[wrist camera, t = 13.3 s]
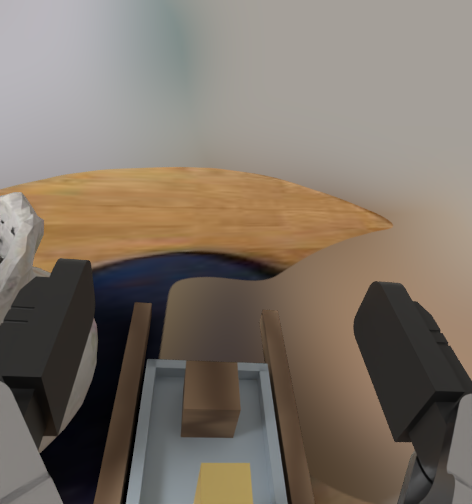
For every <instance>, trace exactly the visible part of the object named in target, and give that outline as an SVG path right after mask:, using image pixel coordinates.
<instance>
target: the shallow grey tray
mask: <svg viewBox="0 0 472 504" xmlns="http://www.w3.org/2000/svg"><path fill="white" fill-rule="evenodd" d="M213 362H214V361H213ZM237 364H238V378H239V392H240V406H241V411H240V415H239V418H238V422H237V426H236V429H235V433H234V436H233V438H193V437H181V422H182V404H183V387H184V378H185V368H186V360H162V359H147V364H146V371H145V378H144V384H143V391H142V398H141V405H140V411H139V418H138V425H137V432H136V439H135V445H134V452H133V459H132V466H131V473H130V479H129V486H128V493H127V500H126V504H288V503H287V496H286V489H285V482H284V475H283V468H282V461H281V454H280V447H279V440H278V433H277V426H276V419H275V412H274V406H273V399H272V392H271V385H270V378H269V371H268V364H265V363H239V362H237Z"/></svg>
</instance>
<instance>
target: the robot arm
mask: <svg viewBox="0 0 472 504" xmlns="http://www.w3.org/2000/svg"><path fill="white" fill-rule="evenodd" d="M94 313H95V296H94V287H93V278H92V269H91V263H90V261H89V260H76V259H62V258H60V259H58V261H57V262H56V264H55V266H54V268H53V270H52V272H51V275H50V277H38V276H36V277H35V278H33V279H32V280H31V281H30V282H29V283H27V284H26V285H25V286H24V287H23V288H21V289H20V290H19V292H18V294H17V296H16V298H15V299H14V301H13V303H12V305H11V309H9V310H8V312H7V314H6V316H5V318H4V319H3V320H4V321H3V323H1V325H0V504H63V502H62V500H61V498H60V495H59V493H58V491H57V489H56V487H55V484H54V482H53V480H52V478H51V476H50V474H49V473H48V472H47V470H46V467H45V465H44V463H43V461H42V459H41V456H40V454H39V452H38V450H39V447H40V444H41V441H42V438H43V436H58V434H59V431H60V428H61V424H62V421H63V418H64V415H65V411H66V408H67V405H68V402H69V398H70V395H71V392H72V389H73V385H74V382H75V379H76V376H77V372H78V369H79V366H80V363H81V359H82V356H83V353H84V349H85V346H86V343H87V340H88V336H89V333H90V330H91V327H92V323H93V319H94ZM354 335H355V338H356V341H357V344H358V346H359V349H360V352H361V354H362V357H363V359H364V362H365V365H366V367H367V370H368V372H369V375H370V378H371V380H372V383H373V385H374V388H375V391H376V394H377V396H378V399H379V402H380V404H381V407H382V410H383V412H384V415H385V417H386V420H387V423H388V425H389V428H390V430H391V433H392V436H393V439H394V441H395V442H412V444H413V446H414V449H415V451H414V452H413V454H412V455H411V458H410V461H409V465H408V468H407V471H406V475H405V478H404V482H403V485H402V489H401V492H400V496H399V500H398V503H397V504H472V381H471V379H470V378H469V376H468V374H467V373H466V371H465V369H464V368H463V366H462V364H461V363H460V361H459V360H458V358H457V356H456V355H455V353H454V351H453V350H452V348H451V347H450V346H448V342H447V340H446V338H445V337H444V335H443V333H440V328H439V327H438V325H437V324H436V322H435V320H434V319H433V317H432V315H431V314H429V312H427V311H426V310H425V309H424V308H423V307H422V306H421V305H420V304H419V303H418V302H415V301H412V300H411V298H410V296H409V294H408V293H407V291H406V289H405V288H404V286H403V285H402V284H400V283H392V282H377V281H375V282H373V283H372V284H371V285H370V287H369V289H368V291H367V293H366V295H365V297H364V299H363V301H362V303H361V305H360V307H359V309H358V312H357V314H356V316H355V319H354Z"/></svg>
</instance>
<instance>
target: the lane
mask: <svg viewBox="0 0 472 504" xmlns="http://www.w3.org/2000/svg"><path fill="white" fill-rule="evenodd" d="M151 309H152V303H136V302H135V305H134V310H133V315H132V319H131V324H130V329H129V334H128V339H127V344H126V349H125V353H124V358H123V363H122V368H121V373H120V378H119V383H118V388H117V392H116V397H115V402H114V407H113V412H112V417H111V422H110V426H109V431H108V436H107V441H106V446H105V451H104V456H103V460H102V465H101V470H100V475H99V480H98V485H97V490H96V495H95V499H94V504H123V499H124V492H125V486H126V479H127V473H128V466H129V460H130V453H131V447H132V440H133V434H134V427H135V421H136V414H137V407H138V401H139V394H140V388H141V381H142V375H143V368H144V362H145V355H146V349H147V342H148V336H149V329H150V323H151ZM259 324H260V330H261V338H262V346H263V353H264V359H265V364H268V371H269V378H270V385H271V392H272V399H273V406H274V412H275V419H276V426H277V433H278V440H279V447H280V454H281V461H282V468H283V475H284V482H285V489H286V496H287V503H288V504H315V500H314V495H313V490H312V484H311V479H310V474H309V469H308V464H307V459H306V454H305V449H304V443H303V438H302V433H301V428H300V423H299V417H298V412H297V407H296V402H295V397H294V392H293V387H292V381H291V376H290V371H289V366H288V361H287V355H286V350H285V345H284V340H283V335H282V330H281V325H280V319H279V314H278V311H275V310H262V314H261V318H260V322H259Z"/></svg>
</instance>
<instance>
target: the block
mask: <svg viewBox="0 0 472 504" xmlns="http://www.w3.org/2000/svg"><path fill="white" fill-rule="evenodd" d="M240 411H241V406H240V392H239V378H238V364H237V362H212V361H188V360H186V368H185V378H184V387H183V404H182V422H181V437H193V438H233V436H234V433H235V429H236V426H237V422H238V418H239V415H240Z"/></svg>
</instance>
